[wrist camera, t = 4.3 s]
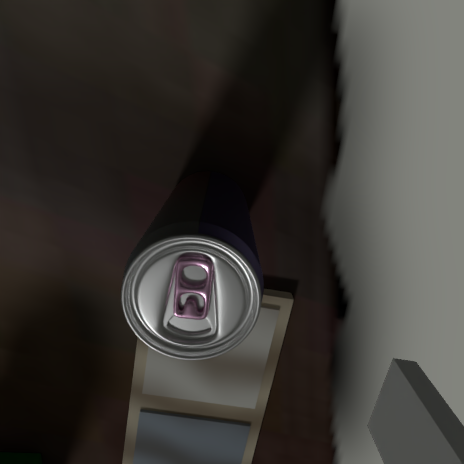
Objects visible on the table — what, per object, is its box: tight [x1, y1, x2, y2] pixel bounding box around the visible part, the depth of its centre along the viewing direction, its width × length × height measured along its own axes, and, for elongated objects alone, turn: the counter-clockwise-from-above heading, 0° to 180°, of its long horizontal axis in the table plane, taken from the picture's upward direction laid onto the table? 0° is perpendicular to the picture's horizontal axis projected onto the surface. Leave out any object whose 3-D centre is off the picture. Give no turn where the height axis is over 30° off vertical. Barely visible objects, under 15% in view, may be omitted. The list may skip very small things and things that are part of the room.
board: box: [122, 289, 294, 464], centre depth 34 cm, size 24×12×2 cm, turn 170°
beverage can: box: [121, 171, 264, 360], centre depth 22 cm, size 6×6×15 cm
